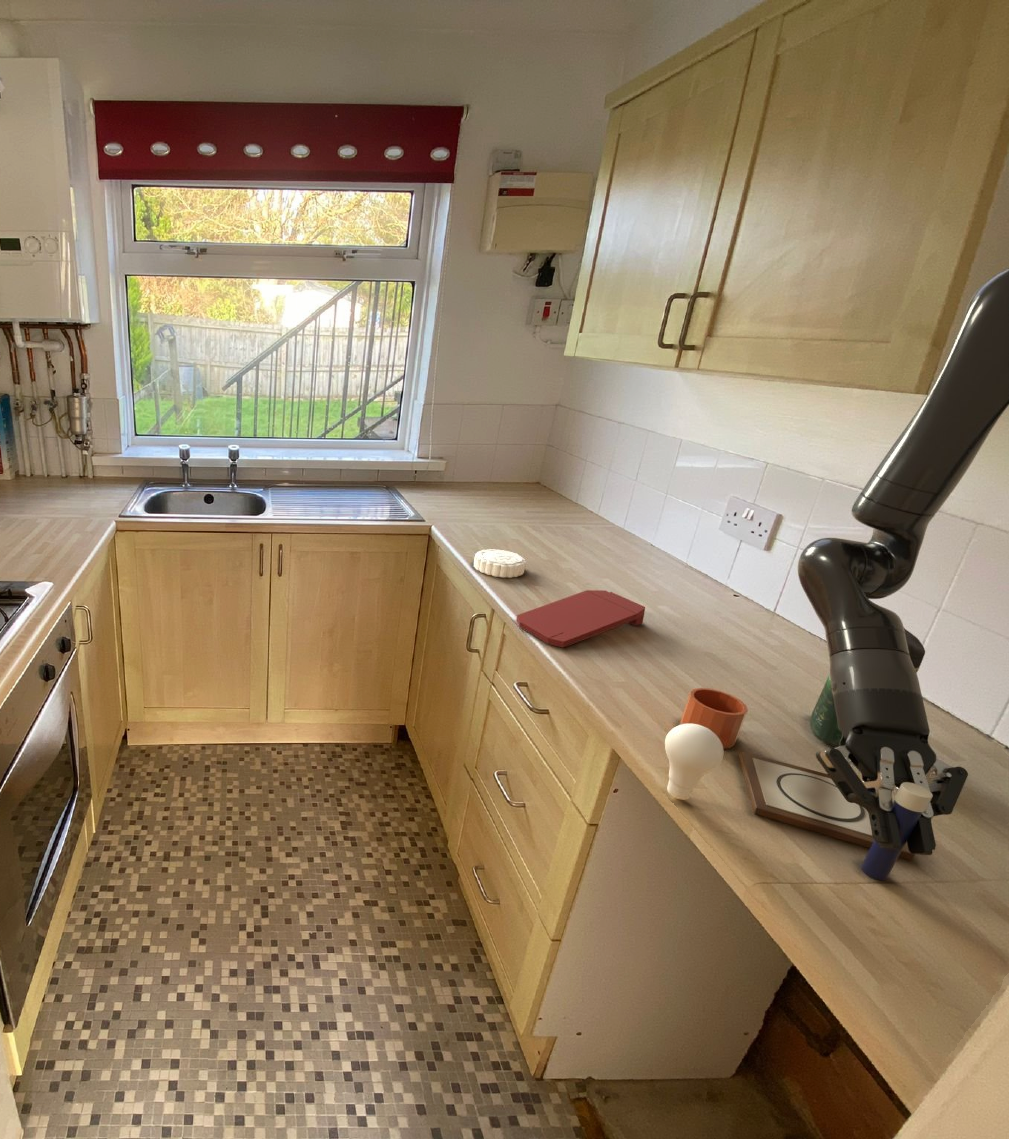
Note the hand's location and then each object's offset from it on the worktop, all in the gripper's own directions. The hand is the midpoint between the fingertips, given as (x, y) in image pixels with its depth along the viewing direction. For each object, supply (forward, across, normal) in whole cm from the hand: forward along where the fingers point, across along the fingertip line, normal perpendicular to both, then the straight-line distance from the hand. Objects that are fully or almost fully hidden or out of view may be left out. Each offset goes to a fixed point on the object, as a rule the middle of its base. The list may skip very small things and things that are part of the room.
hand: (906, 850), depth 68 cm
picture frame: (-6, 0, +13) cm, 15 cm away
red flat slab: (-39, -18, +47) cm, 64 cm away
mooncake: (-60, -31, +68) cm, 95 cm away
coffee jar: (-18, +12, +26) cm, 34 cm away
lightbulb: (-3, -18, +11) cm, 21 cm away
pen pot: (-15, -8, +22) cm, 28 cm away
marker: (+2, 0, +5) cm, 6 cm away
